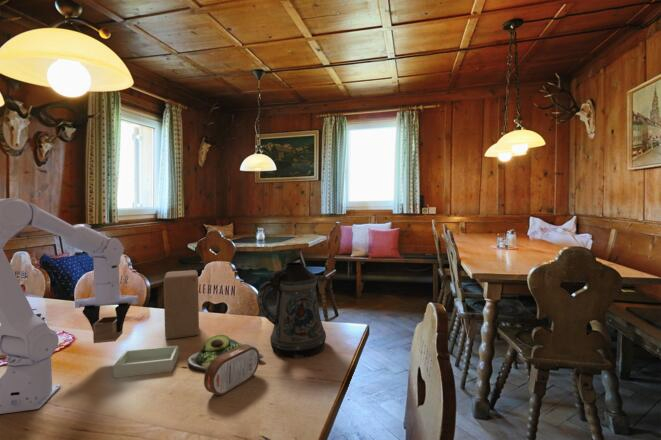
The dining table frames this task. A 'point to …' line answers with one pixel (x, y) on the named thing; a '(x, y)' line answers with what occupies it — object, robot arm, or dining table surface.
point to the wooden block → (181, 304)
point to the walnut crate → (106, 330)
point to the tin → (231, 369)
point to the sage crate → (146, 361)
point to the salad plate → (213, 351)
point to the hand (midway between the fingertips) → (108, 331)
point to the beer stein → (293, 312)
